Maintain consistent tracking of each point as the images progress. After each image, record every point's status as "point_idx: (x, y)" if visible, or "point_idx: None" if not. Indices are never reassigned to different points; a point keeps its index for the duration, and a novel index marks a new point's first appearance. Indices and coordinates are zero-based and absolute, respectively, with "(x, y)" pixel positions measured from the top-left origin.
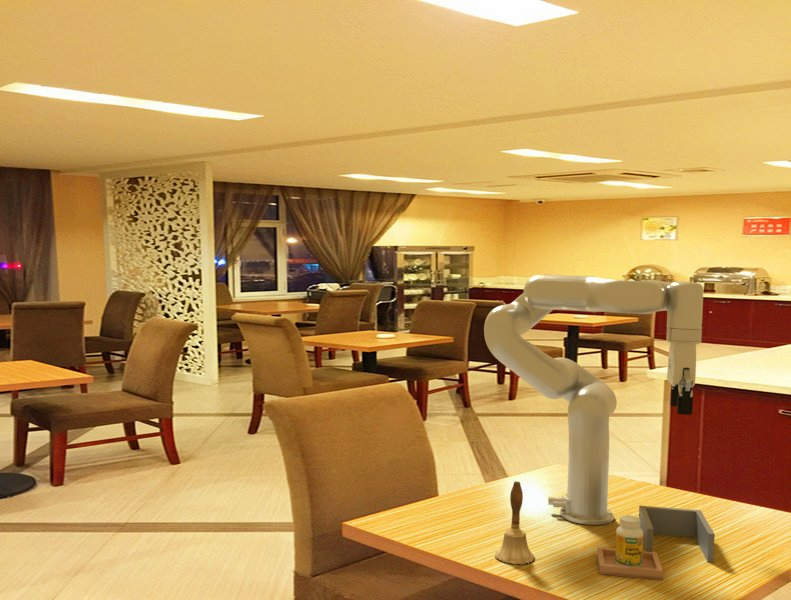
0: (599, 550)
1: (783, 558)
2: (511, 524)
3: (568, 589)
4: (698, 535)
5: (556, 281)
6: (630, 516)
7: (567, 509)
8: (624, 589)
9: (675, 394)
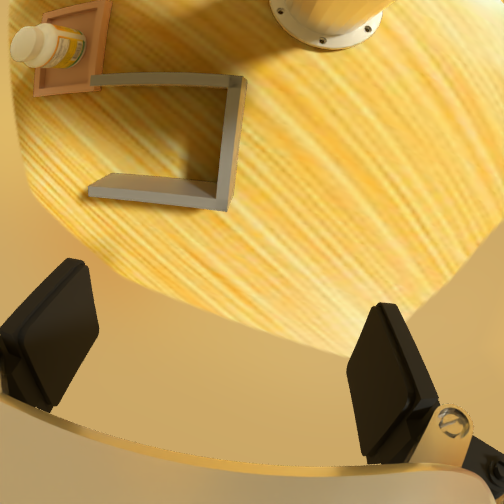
0: (93, 3)
1: (155, 289)
2: None
3: None
4: (187, 183)
5: None
6: (30, 43)
7: None
8: None
9: (386, 387)
